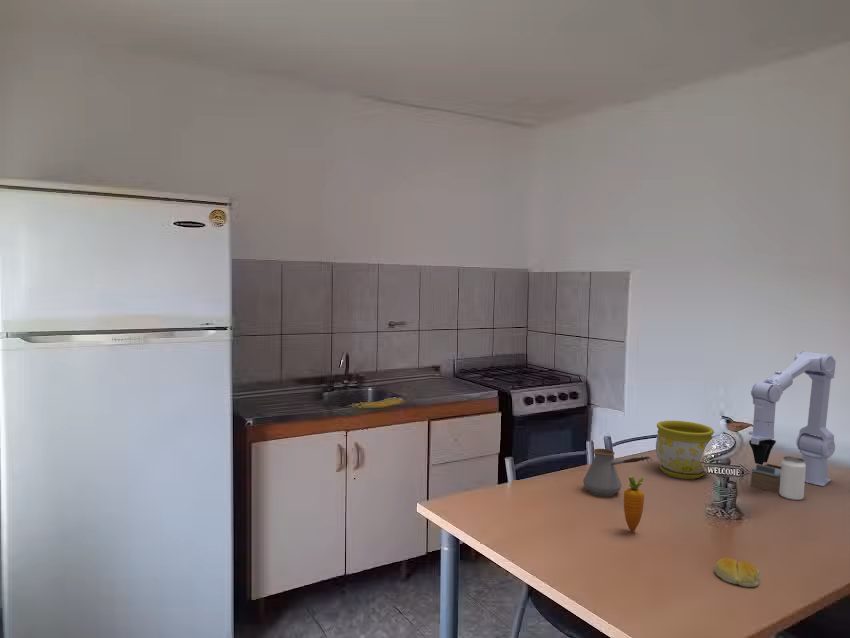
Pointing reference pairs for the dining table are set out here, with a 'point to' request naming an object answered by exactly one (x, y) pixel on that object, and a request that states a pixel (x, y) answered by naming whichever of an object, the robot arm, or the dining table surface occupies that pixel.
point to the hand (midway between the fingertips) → (761, 462)
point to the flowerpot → (682, 447)
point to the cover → (767, 470)
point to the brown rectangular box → (766, 480)
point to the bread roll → (737, 572)
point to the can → (792, 478)
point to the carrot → (633, 504)
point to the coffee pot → (605, 473)
